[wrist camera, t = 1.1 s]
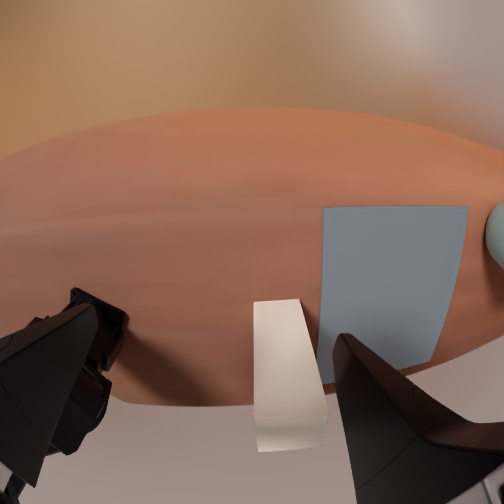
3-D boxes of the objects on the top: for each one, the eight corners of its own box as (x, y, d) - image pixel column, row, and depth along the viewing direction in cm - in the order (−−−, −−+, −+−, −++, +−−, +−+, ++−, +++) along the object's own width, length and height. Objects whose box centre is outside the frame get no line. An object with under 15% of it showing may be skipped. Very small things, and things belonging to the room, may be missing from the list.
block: (256, 337, 25) (258, 451, 14) (253, 302, 24) (253, 421, 12) (298, 333, 25) (321, 445, 14) (299, 298, 24) (329, 414, 12)
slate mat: (313, 383, 28) (313, 385, 28) (322, 207, 21) (323, 208, 21) (428, 359, 28) (429, 361, 27) (466, 206, 20) (468, 206, 20)
